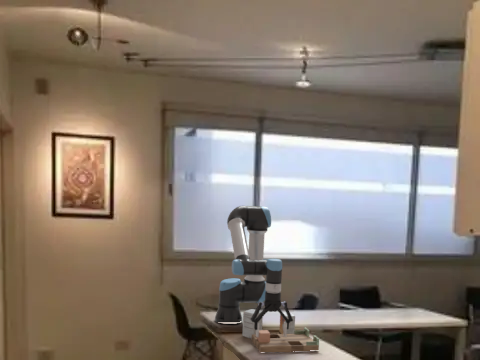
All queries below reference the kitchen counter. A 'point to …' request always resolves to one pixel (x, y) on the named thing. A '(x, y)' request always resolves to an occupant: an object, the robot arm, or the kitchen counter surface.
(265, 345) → the tray
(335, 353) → the kitchen counter surface
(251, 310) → the supplement box
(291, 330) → the small box
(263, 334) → the block
